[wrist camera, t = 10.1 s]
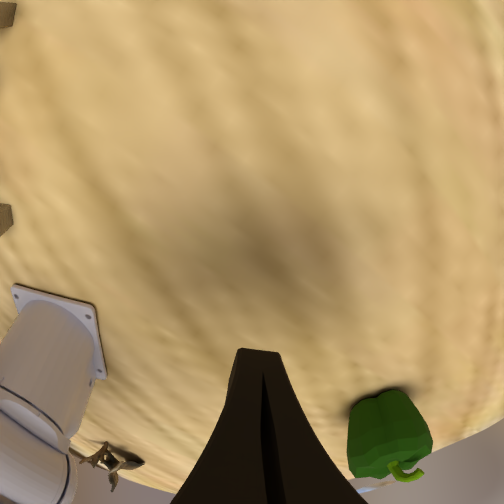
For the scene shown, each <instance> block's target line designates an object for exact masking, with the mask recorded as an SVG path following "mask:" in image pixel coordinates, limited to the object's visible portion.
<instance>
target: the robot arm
mask: <svg viewBox="0 0 504 504" xmlns="http://www.w3.org/2000/svg"><path fill="white" fill-rule="evenodd" d="M11 293H12V296H13V299H14V302H15V305H16V308H17V311H18V314H19V315H18V316H17V318H16V319H15V321H14V322H13V324H12V326H11V327H10V329H9V330H8V332H7V334H6V335H5V337H4V338H3V340H2V342H1V343H0V504H71V502H72V500H73V498H74V496H75V492H76V488H77V480H78V479H77V478H78V477H77V468H76V464H75V460H74V458H73V456H72V454H71V453H70V452H69V451H68V449H69V446H70V442H71V441H70V440H69V439H70V438H71V437H72V436H74V435H75V433H76V432H77V431H78V429H79V427H80V425H81V422H82V419H83V415H84V412H85V409H86V406H87V403H88V400H89V397H90V394H91V392H92V389H93V386H94V383H95V380H96V378H98V379H101V380H105V379H106V378H107V372H106V368H105V363H104V358H103V353H102V348H101V343H100V338H99V332H98V326H97V320H96V314H95V309H94V307H93V306H91V305H89V304H86V303H82V302H78V301H74V300H70V299H66V298H62V297H58V296H54V295H51V294H47V293H43V292H40V291H36V290H33V289H29V288H26V287H22V286H19V285H15V284H14V285H12V287H11ZM170 504H368V503H367V502H366V501H365V500H364V499H363V498H362V497H361V496H360V495H359V494H358V492H357V491H356V490H355V489H354V488H353V487H352V485H351V484H350V483H349V482H348V481H347V479H346V478H345V477H344V476H343V475H342V473H341V472H340V471H339V469H338V468H337V467H336V465H335V464H334V463H333V461H332V460H331V458H330V457H329V455H328V454H327V452H326V451H325V449H324V448H323V446H322V445H321V443H320V441H319V440H318V438H317V436H316V435H315V433H314V431H313V429H312V427H311V426H310V424H309V422H308V420H307V418H306V416H305V414H304V412H303V410H302V408H301V406H300V404H299V401H298V399H297V397H296V395H295V393H294V390H293V388H292V385H291V383H290V381H289V378H288V375H287V373H286V370H285V367H284V365H283V362H282V359H281V356H280V354H279V353H278V352H271V351H263V350H255V349H247V348H240V349H238V350H237V353H236V357H235V360H234V364H233V367H232V371H231V374H230V378H229V383H228V390H227V396H226V401H225V405H224V408H223V410H222V413H221V415H220V417H219V420H218V422H217V424H216V427H215V429H214V431H213V433H212V435H211V437H210V439H209V441H208V443H207V445H206V447H205V449H204V450H203V452H202V454H201V456H200V458H199V459H198V461H197V463H196V464H195V466H194V468H193V470H192V471H191V473H190V475H189V476H188V478H187V479H186V481H185V482H184V484H183V485H182V487H181V488H180V490H179V491H178V493H177V494H176V496H175V497H174V498H173V500H172V501H171V503H170Z"/></svg>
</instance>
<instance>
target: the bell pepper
mask: <svg viewBox="0 0 504 504" xmlns="http://www.w3.org/2000/svg"><path fill="white" fill-rule="evenodd" d="M432 445H433V440H432V437H431V434H430V431H429V428H428V425H427V423H426V422H425V420H424V419H423V417H422V415H421V414H420V412H419V411H418V409H417V408H416V407H415V405H414V404H413V402H412V401H411V400H410V398H409V397H408V396H407V395H406V394H405V393H403V392H401V391H398V390H390V391H387V392H384V393H381V394H380V395H379V396H378V397H377V398H368V399H365V400H361V401H360V402H359V403H358V404H356V405H355V406H354V407H353V409H352V411H351V413H350V418H349V425H348V440H347V458H348V465H349V470H350V471H351V473H352V474H353V475H354V477H355V478H361V477H374V478H377V479H382V478H384V477H386V476H387V475H389V474H390V473H392V474H393V476H394V477H395V479H396V480H397V481H402V482H410V481H414V480H417V479H419V478H420V477H421V476H422V475H424V472H423V471H422V470H421V469H419V468H417V469H416V470H415V471H414V472H413V473H410V474H407V473H404V472H403V471H402V470H409V469H411V468H412V467H413V466H414V465H415V464H416V463H417V462H418V461H419V460H420V459H422V458H424V457H425V456H427V455H428V454H430V453H431V451H432Z"/></svg>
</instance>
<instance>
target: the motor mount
mask: <svg viewBox="0 0 504 504" xmlns="http://www.w3.org/2000/svg"><path fill="white" fill-rule="evenodd" d="M15 8H16V3H5V2H0V28H5V27H9V26H12V24H13V18H14V13H15ZM12 225H13V221H12V214H11V207H10V205H6V204H0V236H1V235H2V234H3V233H5V232H6V231H7V230H8V229H9V228H10V227H11V226H12Z"/></svg>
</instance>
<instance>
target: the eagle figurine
mask: <svg viewBox="0 0 504 504" xmlns="http://www.w3.org/2000/svg"><path fill="white" fill-rule="evenodd" d="M107 448H108V443H107V441H106V442H105V444H104V446H103V447H102V448H101V449H100V450H99V451H98V452H96V453H95V454H94V455H92V456H90V457H87V458H84V459H82V460H81V461H80V462H79V464H82V463H83V462H87V461H89V460H91V459H92V461H91V465H92V466H93V468H94V467H95V466H96V464H97V463H98V461H99V460H100V461H101V462H100V463H103V464H105V465H106V466H107V467H108V469H109V470H110V471H109V473H108V474H109V475H108V476H109V481H110V484H112V490H111V492H113V491H114V489H115V487H116V485H117V483H118V474H117V471H118V470H120V469H126V470H133V469H136V468H138V467H140V466H142V465H144V464H138V463H136V462H133V461H127V462H124V461H121V462H119V461H118V460H117V459H116V458H115V457H114V456H113V455H112V454H111V453H110V452H109V451H108V450H107ZM104 455H106V460H104ZM123 462H124V463H123Z"/></svg>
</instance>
